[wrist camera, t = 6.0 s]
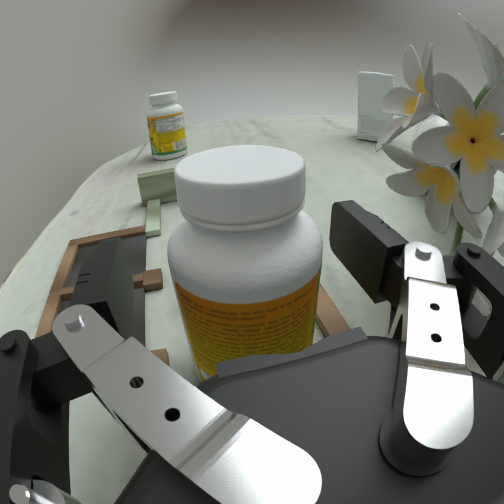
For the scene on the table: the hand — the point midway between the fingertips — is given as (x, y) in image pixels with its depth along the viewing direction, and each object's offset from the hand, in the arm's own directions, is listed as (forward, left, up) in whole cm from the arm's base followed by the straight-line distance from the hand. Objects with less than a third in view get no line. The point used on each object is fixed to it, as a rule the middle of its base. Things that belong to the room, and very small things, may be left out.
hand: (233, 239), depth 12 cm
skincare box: (+11, -47, -7) cm, 49 cm away
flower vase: (-6, -20, -7) cm, 22 cm away
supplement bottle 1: (+32, -20, -7) cm, 38 cm away
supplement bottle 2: (-1, 0, -7) cm, 7 cm away
